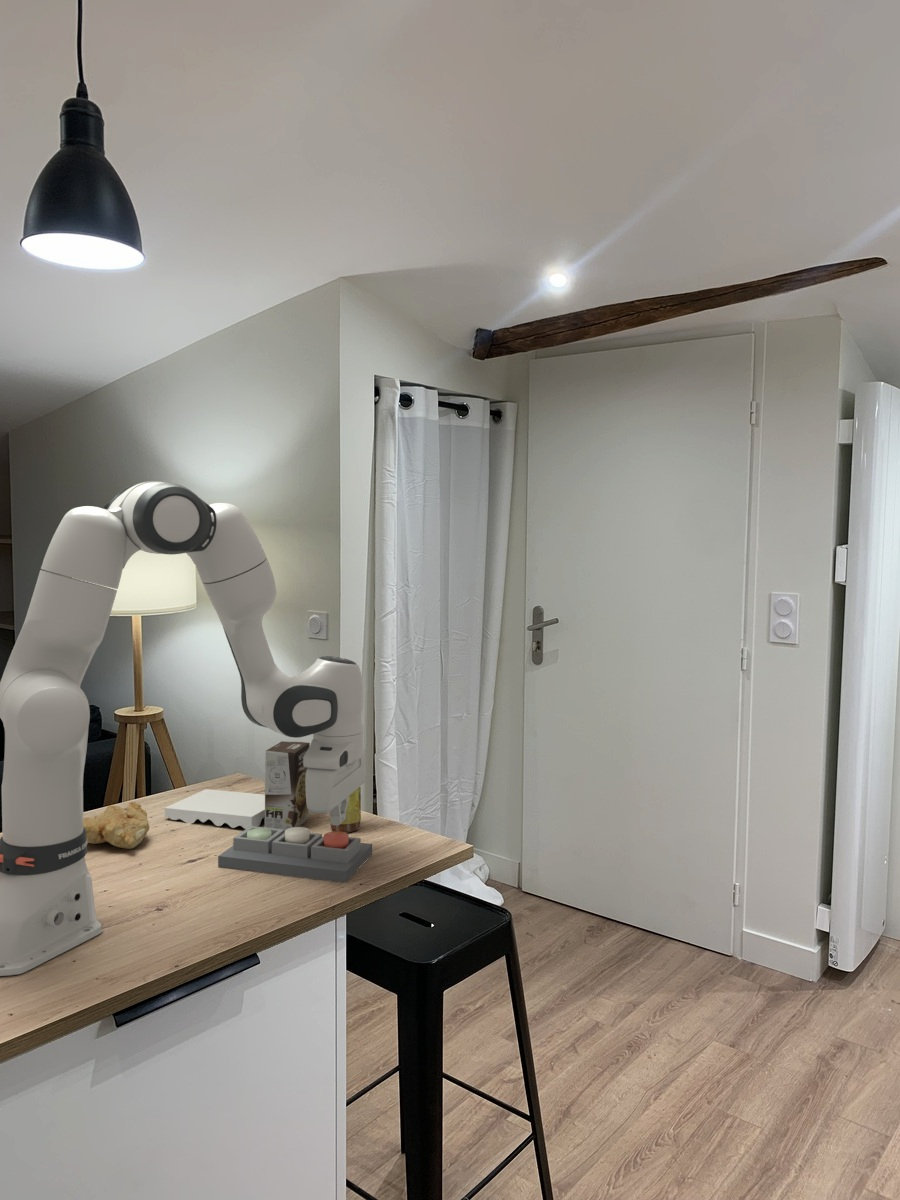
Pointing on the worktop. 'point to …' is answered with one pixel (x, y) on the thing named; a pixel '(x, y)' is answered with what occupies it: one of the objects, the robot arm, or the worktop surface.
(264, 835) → the green button
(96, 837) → the ginger root
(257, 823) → the white scalloped slab
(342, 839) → the red button
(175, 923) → the worktop surface
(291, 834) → the cream button
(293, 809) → the coffee box
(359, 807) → the sauce bottle
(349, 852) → the button panel
